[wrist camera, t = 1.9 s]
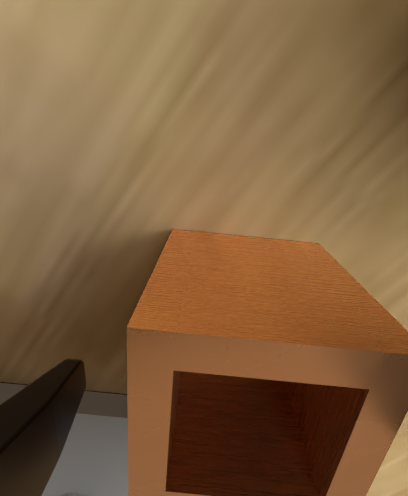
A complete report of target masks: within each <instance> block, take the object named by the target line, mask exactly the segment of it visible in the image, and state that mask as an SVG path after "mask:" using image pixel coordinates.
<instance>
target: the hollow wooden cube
mask: <svg viewBox="0 0 408 496" xmlns="http://www.w3.org/2000/svg"><path fill="white" fill-rule="evenodd" d="M127 411H128V496H366V494H367V492H368V490H369V488H370V486H371V484H372V482H373V480H374V478H375V476H376V474H377V472H378V470H379V468H380V466H381V464H382V462H383V460H384V458H385V456H386V454H387V452H388V450H389V448H390V446H391V444H392V442H393V439H394V437H395V435H396V433H397V431H398V429H399V427H400V425H401V423H402V421H403V419H404V417H405V415H406V413H407V411H408V331H407V330H406V329H405V328H404V327H403V326H402V325H401V324H400V323H399V322H398V321H397V320H396V319H395V318H394V317H393V316H392V315H391V314H390V313H389V312H388V311H387V310H386V309H385V308H384V307H383V306H382V305H381V304H379V303H378V302H377V301H376V300H375V299H374V298H373V297H372V296H371V295H370V294H369V293H368V292H367V291H366V290H365V289H364V288H363V287H362V286H361V285H360V284H359V283H358V282H357V281H356V280H355V279H354V278H353V277H352V276H351V275H350V274H349V273H348V272H347V271H346V270H345V269H344V268H343V267H342V266H341V265H340V264H339V263H338V262H337V261H336V260H335V259H334V258H333V257H332V256H331V255H330V254H329V253H328V252H327V251H326V250H325V249H324V248H323V247H322V246H321V245H320V244H319V243H309V242H298V241H288V240H278V239H268V238H257V237H247V236H237V235H227V234H216V233H206V232H196V231H186V230H176V229H172V231H171V234H170V236H169V238H168V240H167V242H166V244H165V246H164V249H163V251H162V253H161V255H160V257H159V259H158V261H157V264H156V266H155V268H154V270H153V272H152V274H151V276H150V278H149V281H148V283H147V285H146V287H145V289H144V291H143V293H142V296H141V298H140V300H139V302H138V304H137V306H136V308H135V311H134V313H133V315H132V317H131V319H130V321H129V323H128V325H127Z"/></svg>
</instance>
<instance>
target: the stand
mask: <svg viewBox="0 0 408 496" xmlns="http://www.w3.org/2000/svg"><path fill="white" fill-rule="evenodd" d="M26 386H28V385H19V384H9V383H0V404H2V403H3V402H5V401H6V400H7V399H9V398H10V397H12V396H13V395H15V394H16V393H18V392H19V391H20V390H22V389H23V388H25V387H26ZM42 496H128V411H127V395H122V394H112V393H102V392H91V391H84V394H83V397H82V400H81V402H80V405H79V408H78V410H77V413H76V416H75V418H74V421H73V424H72V427H71V429H70V432H69V435H68V437H67V440H66V443H65V445H64V448H63V450H62V453H61V455H60V458H59V460H58V462H57V464H56V467H55V469H54V471H53V473H52V475H51V477H50V479H49V481H48V483H47V485H46V488H45V490H44V492H43V494H42Z"/></svg>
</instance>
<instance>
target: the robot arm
mask: <svg viewBox="0 0 408 496" xmlns="http://www.w3.org/2000/svg"><path fill="white" fill-rule="evenodd" d="M85 386H86V380H85V368H84V362H83V361H82V360H79V359H66V360H64V361H62V362H61V363H60V364H58V365H57V366H55V367H54V368H52V369H51V370H49V371H48V372H47V373H45V374H44V375H42V376H41V377H39V378H38V379H36V380H35V381H33V382H32V383H31V384H29V385H28V386H26V387H25V388H23V389H22V390H20V391H19V392H18V393H16V394H15V395H13V396H12V397H10V398H9V399H7V400H6V401H5V402H3V403H2V404H0V496H42V494H43V492H44V490H45V488H46V485H47V483H48V481H49V479H50V477H51V475H52V473H53V471H54V469H55V467H56V464H57V462H58V460H59V458H60V455H61V453H62V450H63V448H64V445H65V443H66V440H67V437H68V435H69V432H70V429H71V427H72V424H73V421H74V418H75V416H76V413H77V410H78V408H79V405H80V402H81V400H82V397H83V394H84V391H85Z"/></svg>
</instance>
